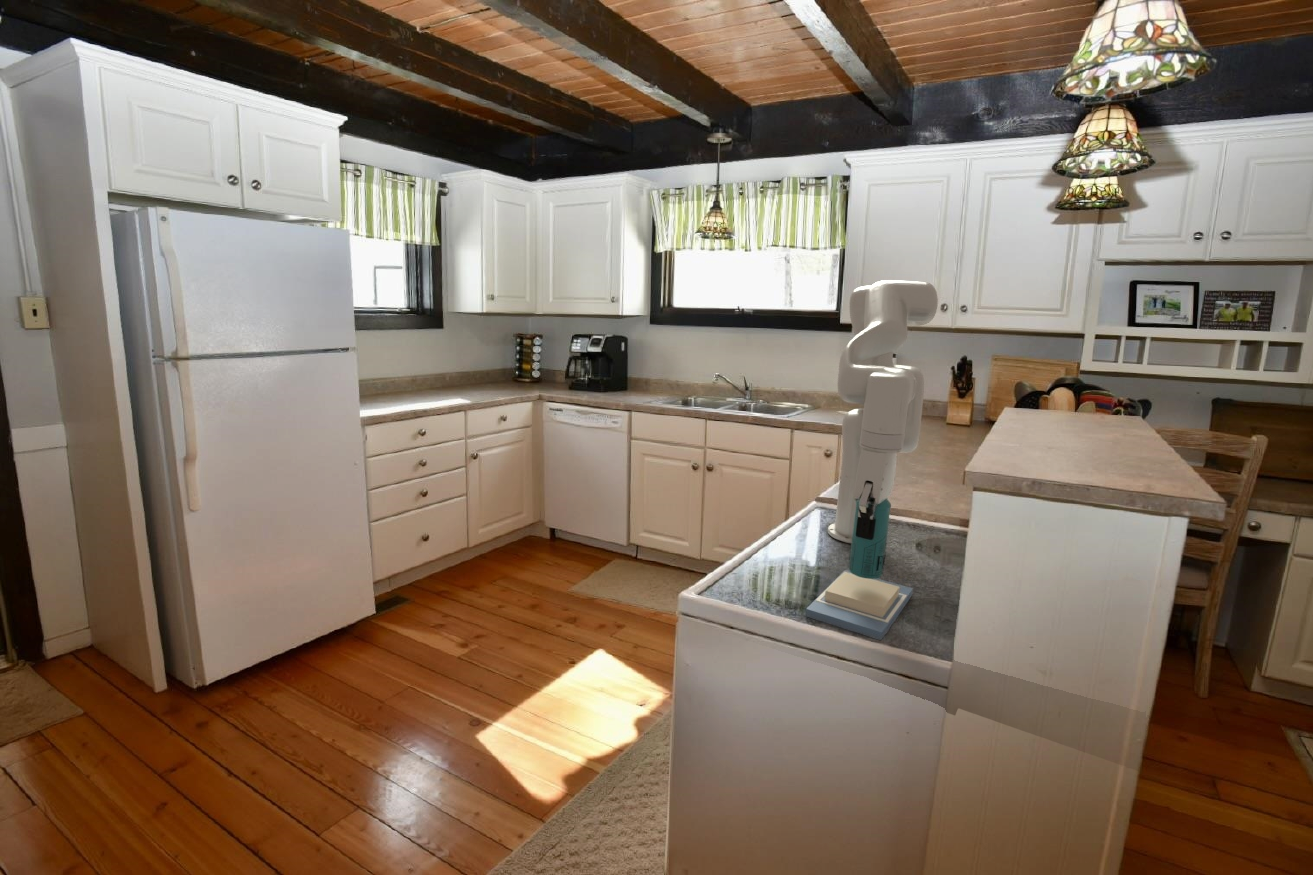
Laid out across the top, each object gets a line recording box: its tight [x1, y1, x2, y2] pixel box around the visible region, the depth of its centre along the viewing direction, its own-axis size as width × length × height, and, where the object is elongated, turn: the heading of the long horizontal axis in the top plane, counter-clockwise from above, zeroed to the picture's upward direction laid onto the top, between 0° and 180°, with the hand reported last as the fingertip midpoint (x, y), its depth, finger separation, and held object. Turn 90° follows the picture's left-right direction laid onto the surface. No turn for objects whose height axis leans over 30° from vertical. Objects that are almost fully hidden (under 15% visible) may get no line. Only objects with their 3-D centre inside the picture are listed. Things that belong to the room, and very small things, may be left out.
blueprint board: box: [805, 569, 914, 641], centre depth 134 cm, size 22×14×4 cm, turn 147°
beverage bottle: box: [847, 499, 892, 579], centre depth 130 cm, size 6×7×20 cm
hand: (870, 531), depth 130 cm, fingers closed on beverage bottle, 6 cm apart
